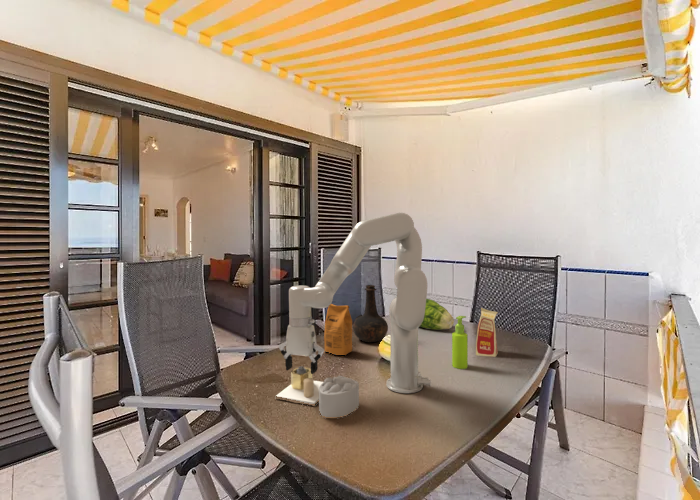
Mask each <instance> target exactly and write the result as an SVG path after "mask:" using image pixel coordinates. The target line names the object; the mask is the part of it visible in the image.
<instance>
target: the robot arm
mask: <svg viewBox="0 0 700 500" xmlns="http://www.w3.org/2000/svg"><path fill="white" fill-rule="evenodd" d="M391 242H395V244H396V263H395V270H394V277H393V282H394V285H395V287H396V288H397V291H396V297H395V298H393V299H392V300H391V302H390V305H389V308H388V309H389V310H388V313H389V315H388V317H389V326H390V327H389V329H390V333H389V335H390V378H388V379H387V380H386V382H385V383H386V387H387V388H388V389H389V390H390V391H393V392H396V393H398V394H414V393H418V392H420V391H421V390H423V387H424V386H430V387H431V385H432V380H431V379H430V378H429V377H428V376H423V375H421V371H419V327H420V325H421V323H422V322H423V319H424V314H425V306H426V299H427V296H428V279H427V276H426V274H425V273H424V271H423V270H422V260H423V259H422V258H423V244H422V243H423V242H422V238H421V236H420V234H419V232H418V230H417V229H416V227H415V222H414V220H413V217H411V216H410V215H409V214H408V213H405V212H395V213H392V214H388V215H385V216H380V217H375V218H371V219H365V220H361V221H359V222H358V223H356V225H354V227H353V228H352V229H351V231H350V232H349V234H348V235H347V237H346V238H345V240H344V242H343V243H342V244H341V246H340V247H339V249H338V250H337V252H336V253H335V255H334V256H333V258H332V259H331V262H330V264H329V265H328V266H327V267H326V270H325V271H324V273H323V274H322V276H321V277H320V279H319V280H318V281H317V282H316V284H315V286H314V287H310V286H309V285H293V286H291V287H289V289H288V311H289V312H288V315H289V316H288V317H289V322H288V323H289V324H288V325H287V330H286V337H285V338H286V339H285V341H284V342H282V343H279V344H278V348H279V350H280V354H282V356H283V359H284V361H285V370H286V371H289V370H291V369H292V368H293V356H292V355H294V356H301V357H308V358H309V359H310V360H311V362H310V369H311V374H312V375H314V374H315V373H316V372H317V371H318V361H319V359H321V358H322V356H323V354H324V353H325V348H323V347H322V346H320V345H319V344H318V343H317V336H316V335H317V334H316V330H315V325H314V324H315V322H316V321H315V320H316V319H313V317H312V308H313V309H325V308H328V306H329V305H330V304H333V303H332V302H333V300H334V296H335V294H336V292H337V291H338V289H339V288H340V287H341V286H342V284H343V282H344V281H345V280H346V279H347V277H349V275H351V274H352V273H354V271H356V269H357V267H358V266H359V264H360V263H361V262H362V260H363V258H364V257H365V255H366V254H367V252H368V251H369V250H370V249H371V247H373V246H377V245H382V244H387V243H391Z"/></svg>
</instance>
